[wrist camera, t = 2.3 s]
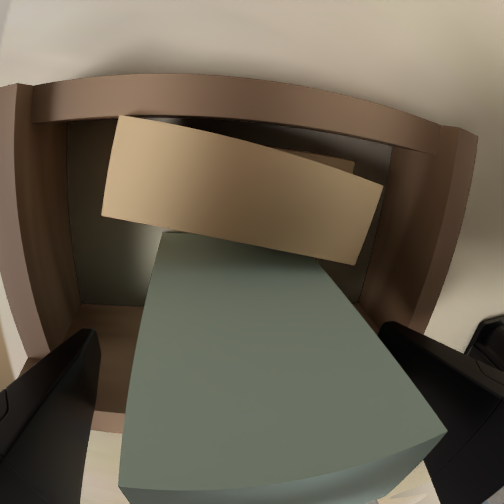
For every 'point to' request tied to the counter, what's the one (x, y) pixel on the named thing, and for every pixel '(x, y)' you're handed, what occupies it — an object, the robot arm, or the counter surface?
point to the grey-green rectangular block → (262, 386)
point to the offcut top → (236, 191)
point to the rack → (218, 108)
